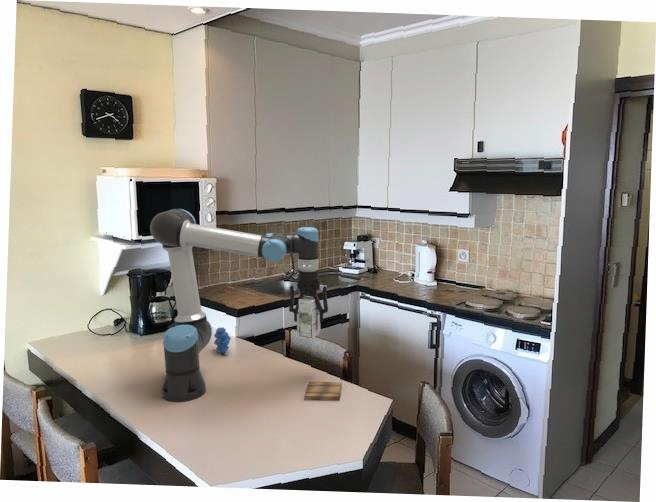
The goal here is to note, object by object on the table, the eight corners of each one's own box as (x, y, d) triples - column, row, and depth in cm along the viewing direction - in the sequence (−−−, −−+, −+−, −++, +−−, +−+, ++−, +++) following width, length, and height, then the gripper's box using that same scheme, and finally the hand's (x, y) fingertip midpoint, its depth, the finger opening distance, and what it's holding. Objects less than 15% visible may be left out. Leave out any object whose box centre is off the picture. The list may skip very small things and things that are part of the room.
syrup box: (319, 334, 197) (319, 296, 194) (312, 338, 191) (312, 300, 189) (305, 332, 199) (305, 295, 197) (298, 336, 194) (298, 298, 191)
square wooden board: (304, 400, 179) (304, 395, 179) (309, 385, 191) (308, 381, 191) (339, 400, 178) (339, 396, 178) (341, 386, 190) (341, 381, 190)
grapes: (237, 354, 224) (236, 327, 222) (223, 358, 220) (221, 331, 218) (225, 347, 233) (224, 321, 231) (211, 351, 229) (210, 324, 227)
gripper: (279, 271, 188) (280, 332, 192) (334, 272, 186) (334, 334, 190) (283, 267, 196) (284, 326, 199) (336, 268, 194) (336, 327, 198)
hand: (308, 330), depth 195 cm, fingers closed on syrup box, 7 cm apart
